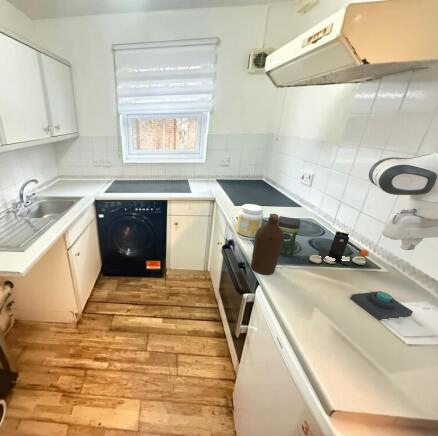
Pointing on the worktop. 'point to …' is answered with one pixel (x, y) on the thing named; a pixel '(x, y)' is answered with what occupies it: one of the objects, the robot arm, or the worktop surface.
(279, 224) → the coffee jar
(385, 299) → the button
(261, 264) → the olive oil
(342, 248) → the switch bracket
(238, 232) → the supplement tub
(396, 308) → the button housing
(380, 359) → the worktop surface
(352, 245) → the switch
